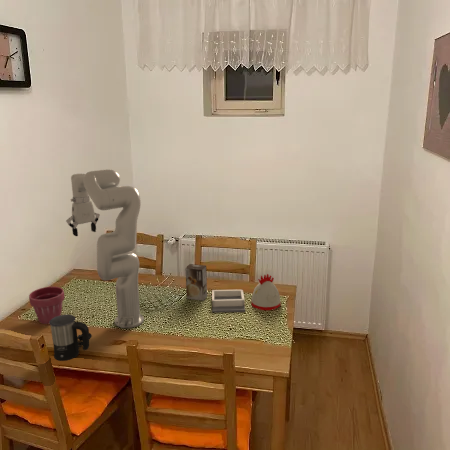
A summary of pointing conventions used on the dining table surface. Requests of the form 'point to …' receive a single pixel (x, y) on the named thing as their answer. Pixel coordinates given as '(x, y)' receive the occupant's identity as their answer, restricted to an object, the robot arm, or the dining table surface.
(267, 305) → the grey red beanie hat
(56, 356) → the milk frother
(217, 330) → the dining table surface
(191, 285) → the coffee box
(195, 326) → the dining table surface
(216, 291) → the dock
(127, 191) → the robot arm
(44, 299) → the plant pot
